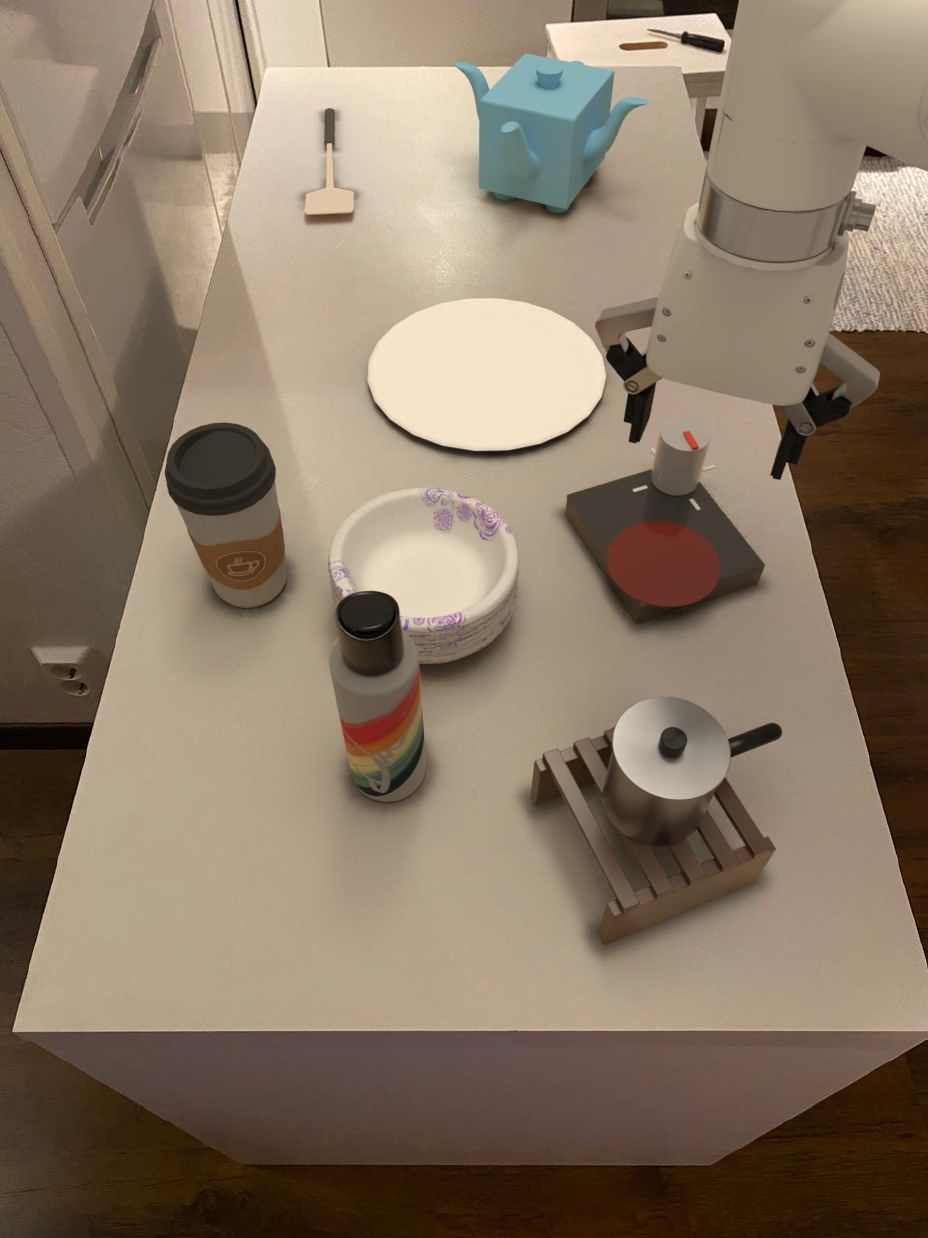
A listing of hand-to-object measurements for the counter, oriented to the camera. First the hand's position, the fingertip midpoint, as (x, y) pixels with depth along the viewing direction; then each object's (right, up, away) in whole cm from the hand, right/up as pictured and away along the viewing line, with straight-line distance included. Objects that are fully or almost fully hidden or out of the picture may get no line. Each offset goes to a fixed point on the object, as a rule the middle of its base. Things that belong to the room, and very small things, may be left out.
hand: (707, 447), depth 64 cm
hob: (+2, -4, +22) cm, 22 cm away
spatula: (-35, +49, +62) cm, 87 cm away
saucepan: (-1, -23, 0) cm, 23 cm away
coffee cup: (-35, -9, +19) cm, 41 cm away
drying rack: (-4, -27, +4) cm, 28 cm away
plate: (-14, +14, +36) cm, 41 cm away
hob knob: (+3, +1, +23) cm, 23 cm away
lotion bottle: (-22, -23, +8) cm, 33 cm away
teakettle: (-7, +44, +58) cm, 73 cm away
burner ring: (0, -7, +17) cm, 18 cm away
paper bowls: (-20, -11, +17) cm, 28 cm away
